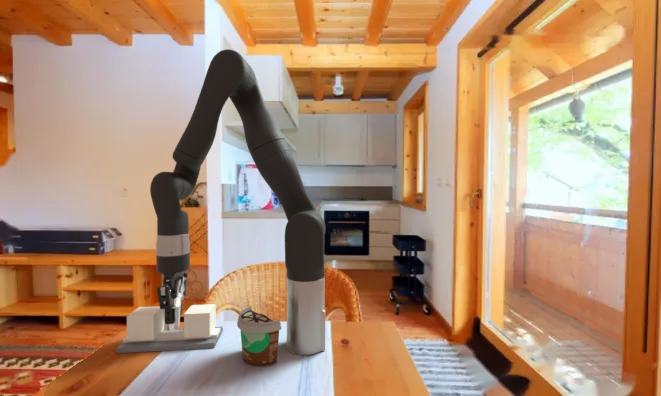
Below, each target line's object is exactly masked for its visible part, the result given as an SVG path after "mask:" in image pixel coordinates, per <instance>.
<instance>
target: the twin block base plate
mask: <svg viewBox="0 0 661 396" xmlns="http://www.w3.org/2000/svg"><path fill="white" fill-rule="evenodd" d="M216 311H217V310H216V304H215V303H213V304H210V303H209V304H192V305H191V306H189V308H188V309H187V310H186V311H185V312H184V313H183V328H178V329H176V330H173V331H166V330H165V327H164V316H163V309H160V305H158V306H154V305H152V306H139V307H137V308H135V309H134V310H133V311H132V312H131V313H129V314H128V315H126V336H125V337H123V339H122V343H120V345H118V346H117V347H116V353H117V354H126V353H128V354H129V353H143V352H147V353H148V352H161V351H162V352H163V351H164V352H165V351H179V350H182V351H183V350H199V349H215V347H216V346H217V345H218V342H219V339H220V338H221V336H222V333H223V330H224V328H223V327H224V326H216V323H217V321H216V318H217V317H216V315H217V313H216Z"/></svg>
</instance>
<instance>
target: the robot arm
mask: <svg viewBox="0 0 661 396" xmlns="http://www.w3.org/2000/svg"><path fill="white" fill-rule="evenodd" d="M255 73H256V72H255V71H254V70H253V68H252V66H251V65H250V64H249V63H248V62H247V60H246V59H245V58H244V57H243V55H241V54H240V53H239V52H238V51H236V50H233V49H222V50H220V51H219V52H216V54H215V55H214V56H213V58H212V59H211V61H210V62H209V66H208V68H207V71H206V74H205V78H204V80H203V84H202V86H201V89H200V92H199V95H198V98H197V101H196V104H195V106H194V110H193V111H192V113H191V117H190V120H189V121H188V123H187V125H186V128H185V130H184V132H183V133H182V135H181V137H180V138H179V139H178V140H179V141H178V142H177V145H176V146H175V149H173V152H172V159H173V160H174V162H175V167H174V168H173V171H160V172H159V173H156V174H155V175H154V177H153V178H152V180H151V183H150V188H149V191H150V192H149V193H150V197H151V202H152V206H153V209H154V212H155V215H156V219H157V220H156V223H157V224H156V227H157V228H156V230H157V231H156V234H157V235H156V243H155V248H156V249H155V250H156V251H155V255H156V258H155V260H156V262H155V263H156V264H155V266H156V267H155V268H156V273H158V274H161V275H163V278H162V279H163V280H162V282H161V286H158V287H157V289H156V291H157V298H158V306H160V309H165V324H174V323H175V321H176V320H175V307H176V299H177V298H178V296H179V293H181V291H182V290H183V291H182V294H181V295H182V299H181V310H180V317H181V316H182V315H183V300H184V298H185V296H186V294H187V286H188V276H189V275H188V272H187V271H189V269H190V268H191V253H190V252H191V246H190V243H191V242H190V234H189V226H190V225H189V223H190V222H189V214H188V212H187V211H185V210H183V209H182V207H181V206H182V205H181V202H180V201H181V200H182V201H183V200H185V199H187V198H189V196H190V195H191V194H192V193H193V191H195V188H196V185H197V183H198V179H199V175H200V171H201V168H202V167H201V166H202V165H203V163H204V161H205V160H206V158H207V156H208V155H209V152H210V151H211V148H212V146H213V143H214V141H215V138H216V135H217V130H218V124H219V120H220V118H221V117H220V116H221V113H222V111H223V108H224V106H225V104H226V102H227V101H228V99H230V101H231V102H232V104H233V106H234V108H235V109H236V111H237V113H238V114H239V117H240V119H241V123H242V127H243V132H244V137H245V138H244V139H245V141H246V146H247V149H248V151H249V154H250V156H251V158H252V160H253V163H254V165H255V167H256V168H257V170H258V172H259V174H260V176H261V177H262V179H263V180H264V181H265V183H266V184H267V185H268V187H269V188H270V190H271V191H272V192H273V193H274V195H275V197H277V199H278V201H279V202H280V204H281V207H282V209H283V211H284V214H285V217H286V219H287V223H286V225H285V228H284V261H285V263H284V264H285V265H284V266H285V268H286V269H285V270H286V349H287V350H288V352H289V353H292V354H295V355H299V356H310V355H313V354H317V353H319V352H323V351H324V352H325V351H326V309H325V279H326V278H325V270H326V268H325V256H324V255H325V252H324V251H325V250H324V248H325V234H326V228H327V227H326V223H325V220H324V218H323V217H322V216H321V213H320V212H319V211H318V209H317V208H316V205H315V204H314V203H313V201H312V199H311V197H310V196H309V194H308V192H307V190H306V188H305V185H304V183H303V180H302V176H301V174H300V171H299V169H298V166H297V163H296V161H295V159H294V157H293V154H292V152H291V149H290V147H289V145H288V143H287V141H286V139H285V137H284V135H283V133H282V132H281V129H280V128H279V126H278V124H277V121H276V120H275V119H274V117H273V116H272V114H271V112H270V111H269V108H268V107H267V105H266V102H265V100H264V96H263V94H262V92H261V89H260V85H259V83H258V80H257V77H256V74H255ZM171 294H174V295H171ZM163 301H164V302H163ZM167 302H168V304H167Z"/></svg>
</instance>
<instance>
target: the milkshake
mask: <svg viewBox="0 0 661 396" xmlns="http://www.w3.org/2000/svg"><path fill="white" fill-rule="evenodd" d="M182 291H183V290H182ZM182 291H181V293H179V296H178V298H177V299H176V307H175V320H176V321H175V323H174V324H165V309H163V316H164V329H165V330H166V331H173V330H176V329H180V323H181V316H180V310H181V299H182V295H181V294H182ZM171 295H174V294H171ZM163 302H164V301H163ZM167 304H168V302H167Z"/></svg>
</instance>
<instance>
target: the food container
mask: <svg viewBox="0 0 661 396" xmlns="http://www.w3.org/2000/svg"><path fill="white" fill-rule="evenodd" d="M236 323H237V324H236V325H237V328H238V329H239V330H240V340H241V350H242V351H241V352H242V361H243V363H244V364H246V365H248V366H250V367H256V368H257V367H259V368H260V367H262V368H263V367H267V366H272V365H274V364H276V363H278V351H279V337H280V330H282V324H281V320H280V319H276V320H272V319H270V317H268V316H267V315H266V314H263V313H258V312H256V311H254V310H252V305H251V306H248V307H246V308H244V309H242V310H241V311H240V313H239V315H238V318H237V322H236Z"/></svg>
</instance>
